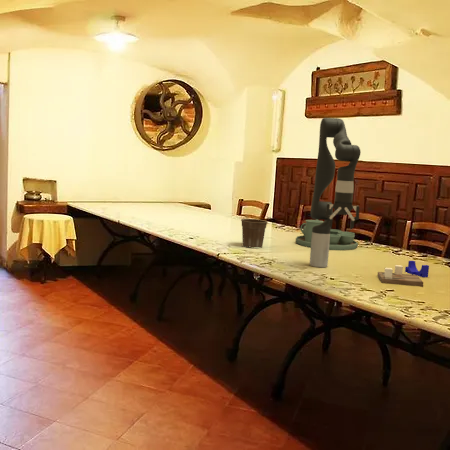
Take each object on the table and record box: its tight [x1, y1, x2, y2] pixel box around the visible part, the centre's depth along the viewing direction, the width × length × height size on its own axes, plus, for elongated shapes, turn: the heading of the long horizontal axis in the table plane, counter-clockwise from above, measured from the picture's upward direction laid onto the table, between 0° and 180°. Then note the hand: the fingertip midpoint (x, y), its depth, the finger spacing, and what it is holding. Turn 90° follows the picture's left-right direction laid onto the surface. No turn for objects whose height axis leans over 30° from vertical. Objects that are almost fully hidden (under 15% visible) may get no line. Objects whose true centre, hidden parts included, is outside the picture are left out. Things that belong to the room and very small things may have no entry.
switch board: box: [376, 271, 424, 287], centre depth 240 cm, size 15×18×2 cm
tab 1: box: [383, 267, 393, 278], centre depth 236 cm, size 3×3×4 cm
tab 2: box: [394, 264, 404, 275], centre depth 244 cm, size 3×3×4 cm
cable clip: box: [404, 260, 430, 278], centre depth 257 cm, size 12×4×6 cm, turn 17°
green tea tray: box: [295, 219, 359, 251], centre depth 336 cm, size 40×40×16 cm
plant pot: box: [240, 218, 268, 248], centre depth 313 cm, size 16×16×16 cm
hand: (340, 228), depth 224 cm, fingers open, 8 cm apart
